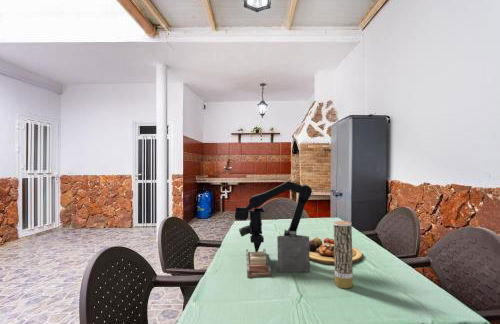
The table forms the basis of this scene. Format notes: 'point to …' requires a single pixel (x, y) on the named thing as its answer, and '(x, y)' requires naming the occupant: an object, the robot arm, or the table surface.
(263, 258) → the cream square block
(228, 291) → the table surface
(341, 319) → the table surface
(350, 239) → the tree log
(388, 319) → the table surface
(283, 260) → the flask
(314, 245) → the wooden plate with food
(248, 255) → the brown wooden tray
